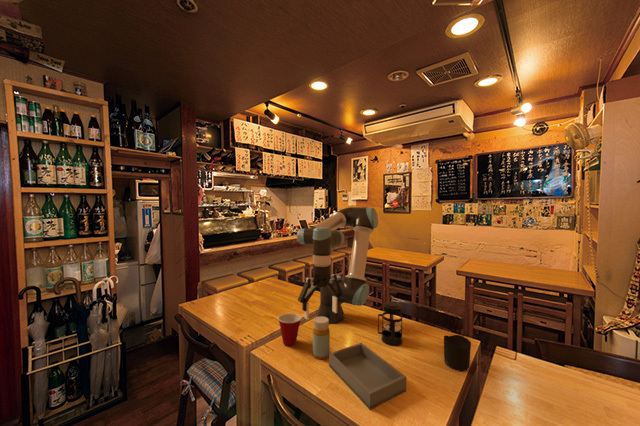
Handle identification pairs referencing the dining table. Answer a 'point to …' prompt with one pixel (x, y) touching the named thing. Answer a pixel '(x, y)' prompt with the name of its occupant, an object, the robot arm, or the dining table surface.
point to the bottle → (321, 337)
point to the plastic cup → (289, 328)
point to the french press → (391, 323)
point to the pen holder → (457, 352)
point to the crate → (367, 374)
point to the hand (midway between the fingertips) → (321, 315)
